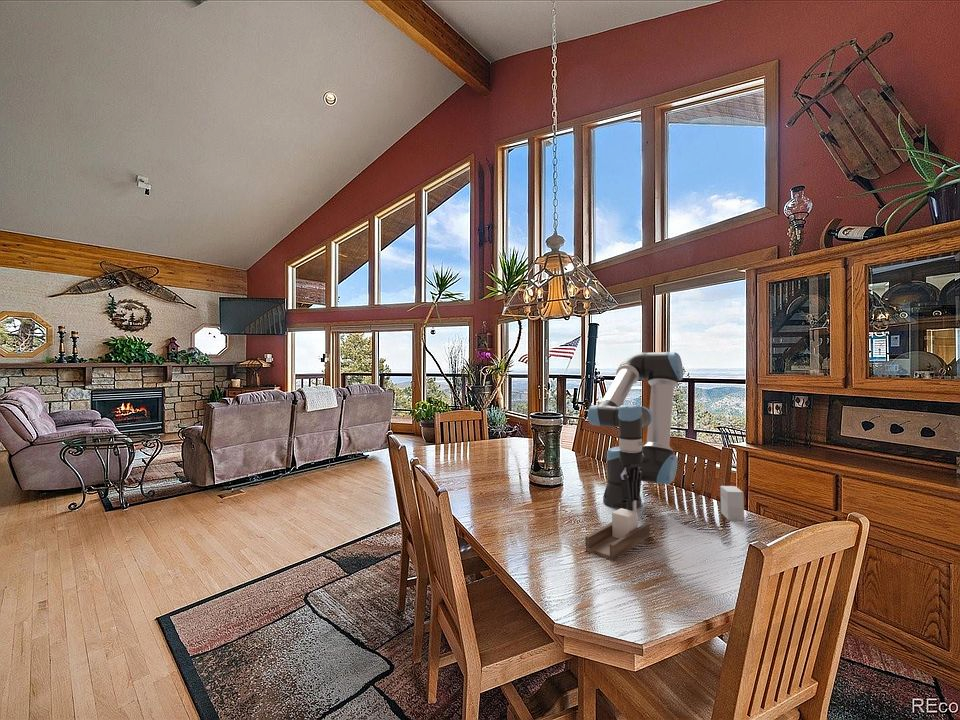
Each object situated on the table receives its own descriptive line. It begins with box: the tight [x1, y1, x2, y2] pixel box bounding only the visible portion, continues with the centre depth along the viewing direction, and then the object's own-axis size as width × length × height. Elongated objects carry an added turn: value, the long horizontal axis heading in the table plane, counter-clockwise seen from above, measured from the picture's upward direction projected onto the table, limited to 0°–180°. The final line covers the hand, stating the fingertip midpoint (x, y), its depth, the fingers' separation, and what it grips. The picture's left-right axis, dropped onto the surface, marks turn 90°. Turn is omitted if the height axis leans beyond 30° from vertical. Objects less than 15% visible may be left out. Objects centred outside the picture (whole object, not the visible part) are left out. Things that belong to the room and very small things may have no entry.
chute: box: [584, 521, 651, 561], centre depth 147 cm, size 10×24×4 cm, turn 134°
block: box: [611, 508, 639, 538], centre depth 150 cm, size 6×6×8 cm
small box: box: [719, 485, 745, 521], centre depth 168 cm, size 8×6×10 cm
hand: (632, 519), depth 153 cm, fingers closed
